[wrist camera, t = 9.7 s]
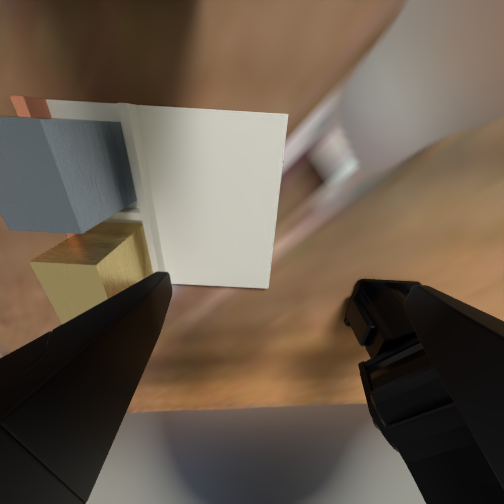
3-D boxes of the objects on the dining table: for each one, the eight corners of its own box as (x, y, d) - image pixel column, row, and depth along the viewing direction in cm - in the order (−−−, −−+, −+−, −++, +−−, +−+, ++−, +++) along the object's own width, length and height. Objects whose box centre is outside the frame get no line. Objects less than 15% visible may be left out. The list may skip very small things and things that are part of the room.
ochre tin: (143, 223, 19) (96, 265, 13) (154, 275, 22) (118, 328, 16) (95, 221, 19) (26, 261, 13) (112, 273, 22) (61, 325, 16)
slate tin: (120, 121, 15) (39, 118, 9) (137, 200, 18) (81, 234, 12) (59, 118, 15) (-59, 112, 9) (85, 197, 18) (6, 230, 12)
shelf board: (286, 114, 16) (291, 112, 13) (267, 282, 23) (269, 299, 21) (45, 100, 15) (9, 95, 13) (105, 274, 23) (89, 290, 21)
